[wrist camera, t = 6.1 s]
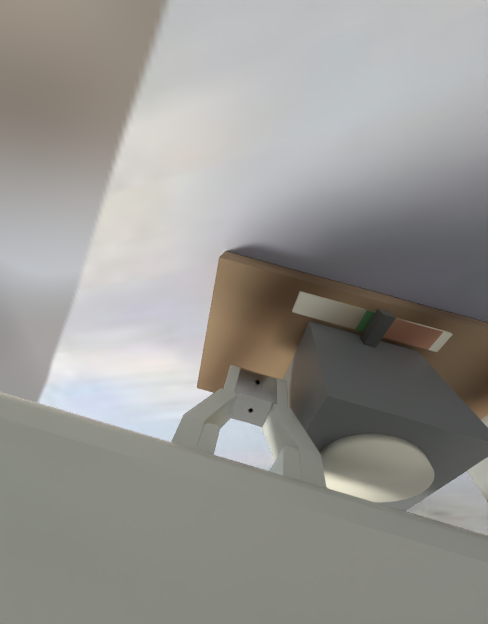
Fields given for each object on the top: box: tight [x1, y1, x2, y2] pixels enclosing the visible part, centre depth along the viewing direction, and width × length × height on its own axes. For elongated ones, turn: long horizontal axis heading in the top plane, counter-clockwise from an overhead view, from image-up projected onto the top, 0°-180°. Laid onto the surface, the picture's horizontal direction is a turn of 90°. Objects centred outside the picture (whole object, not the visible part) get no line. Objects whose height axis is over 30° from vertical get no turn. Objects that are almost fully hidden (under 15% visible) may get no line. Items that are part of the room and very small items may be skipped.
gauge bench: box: [197, 251, 488, 501], centre depth 11 cm, size 21×10×8 cm, turn 77°
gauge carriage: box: [283, 309, 488, 511], centre depth 10 cm, size 9×8×5 cm
